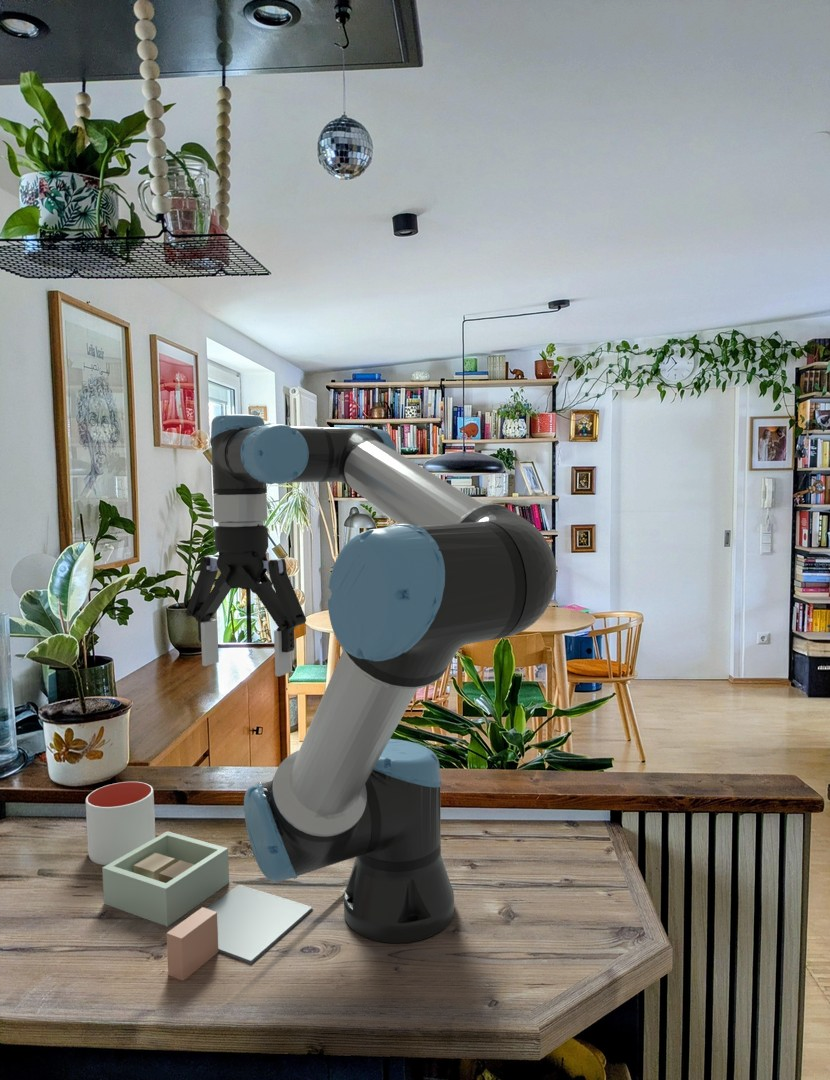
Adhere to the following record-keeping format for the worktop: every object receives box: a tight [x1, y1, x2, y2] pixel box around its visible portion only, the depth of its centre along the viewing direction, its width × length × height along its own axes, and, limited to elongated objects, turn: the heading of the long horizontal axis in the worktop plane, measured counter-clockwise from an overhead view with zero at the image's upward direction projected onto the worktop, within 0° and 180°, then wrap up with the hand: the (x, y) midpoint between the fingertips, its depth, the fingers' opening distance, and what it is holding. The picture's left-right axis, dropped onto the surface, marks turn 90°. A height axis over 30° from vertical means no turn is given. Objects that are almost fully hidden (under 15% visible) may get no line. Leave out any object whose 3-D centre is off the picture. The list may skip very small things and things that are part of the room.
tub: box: [101, 831, 230, 927], centre depth 108 cm, size 12×12×6 cm
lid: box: [166, 884, 314, 981], centre depth 98 cm, size 13×19×6 cm
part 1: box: [133, 853, 175, 881], centre depth 109 cm, size 4×4×4 cm
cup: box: [85, 781, 156, 866], centre depth 120 cm, size 10×10×10 cm
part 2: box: [159, 860, 194, 883], centre depth 107 cm, size 4×4×4 cm
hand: (245, 669), depth 111 cm, fingers open, 13 cm apart
